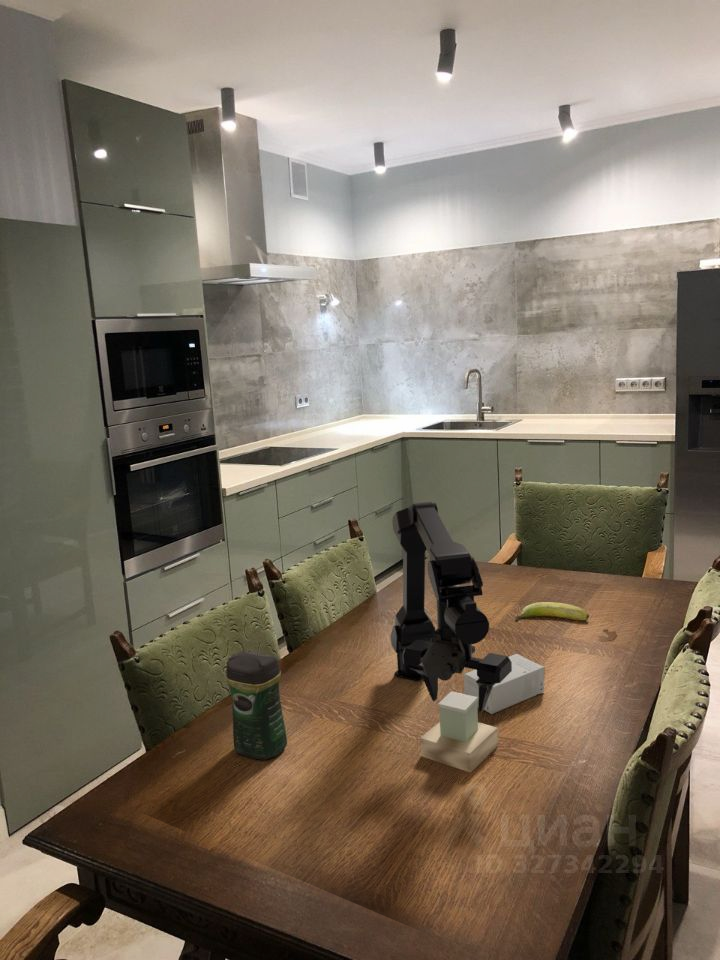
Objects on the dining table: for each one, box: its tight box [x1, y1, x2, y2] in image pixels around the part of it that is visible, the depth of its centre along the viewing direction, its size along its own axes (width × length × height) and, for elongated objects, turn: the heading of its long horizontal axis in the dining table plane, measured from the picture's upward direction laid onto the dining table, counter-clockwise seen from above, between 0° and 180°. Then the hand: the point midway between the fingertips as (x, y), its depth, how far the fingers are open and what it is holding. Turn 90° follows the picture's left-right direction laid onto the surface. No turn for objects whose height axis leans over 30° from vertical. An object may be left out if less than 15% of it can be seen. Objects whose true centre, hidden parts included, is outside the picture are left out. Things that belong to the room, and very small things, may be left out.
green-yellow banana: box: [511, 599, 618, 643], centre depth 197 cm, size 35×27×4 cm
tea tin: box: [437, 690, 479, 742], centre depth 138 cm, size 5×5×6 cm
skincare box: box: [463, 653, 546, 715], centre depth 157 cm, size 8×6×15 cm
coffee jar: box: [225, 650, 288, 760], centre depth 143 cm, size 10×8×19 cm
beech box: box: [420, 721, 499, 773], centre depth 139 cm, size 10×10×4 cm
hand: (457, 705), depth 137 cm, fingers open, 9 cm apart
